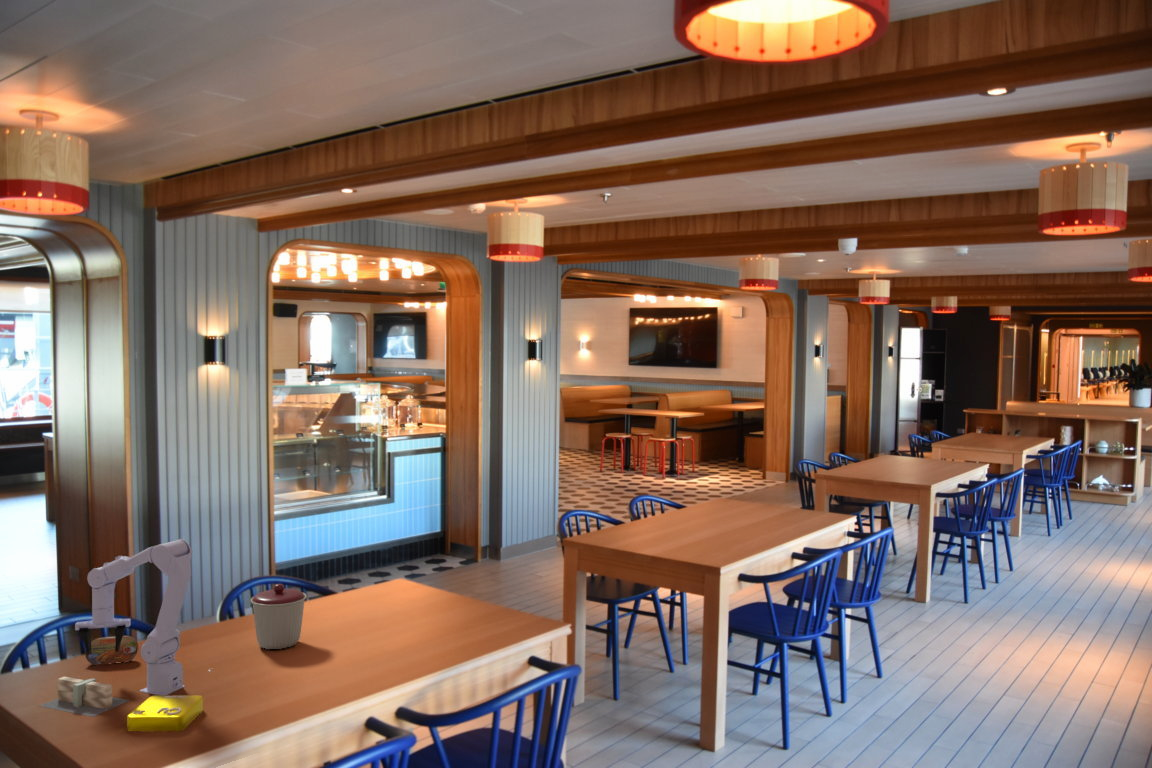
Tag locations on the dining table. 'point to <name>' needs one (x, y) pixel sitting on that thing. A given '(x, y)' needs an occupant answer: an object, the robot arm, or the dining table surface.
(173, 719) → the element tile
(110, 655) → the tin
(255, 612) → the canister
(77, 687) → the sage slotted block
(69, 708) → the slate mat
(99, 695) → the birch notched plate
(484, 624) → the dining table surface
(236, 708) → the dining table surface
